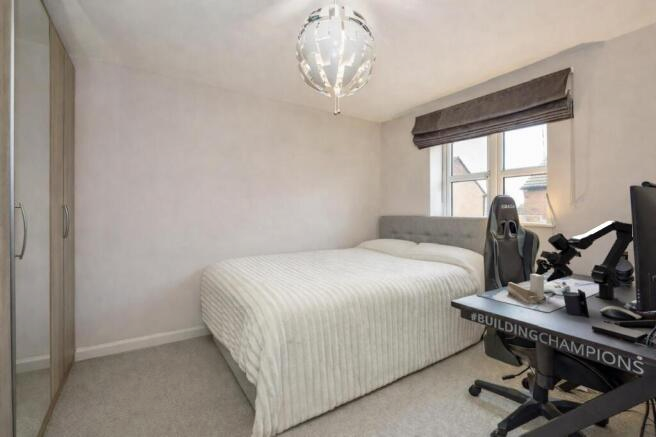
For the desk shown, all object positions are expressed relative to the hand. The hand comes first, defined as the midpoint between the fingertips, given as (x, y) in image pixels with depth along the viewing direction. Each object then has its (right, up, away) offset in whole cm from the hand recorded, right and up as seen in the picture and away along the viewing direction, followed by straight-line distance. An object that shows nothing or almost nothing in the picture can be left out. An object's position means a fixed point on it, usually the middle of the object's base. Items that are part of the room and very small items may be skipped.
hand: (540, 279), depth 147 cm
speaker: (-2, -10, -23) cm, 25 cm away
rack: (-5, -9, 0) cm, 11 cm away
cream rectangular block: (-2, -9, 0) cm, 10 cm away
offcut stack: (-7, -10, +1) cm, 12 cm away
